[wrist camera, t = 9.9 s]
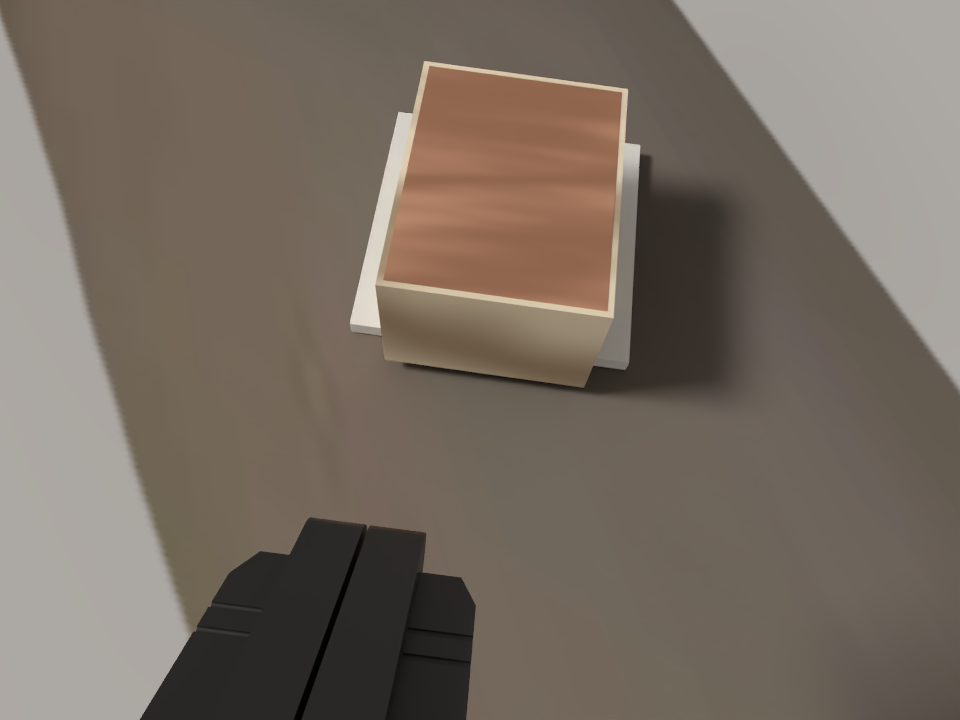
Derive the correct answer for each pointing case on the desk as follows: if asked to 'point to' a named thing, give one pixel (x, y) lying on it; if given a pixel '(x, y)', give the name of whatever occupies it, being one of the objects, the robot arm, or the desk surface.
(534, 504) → the desk surface
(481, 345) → the maple block
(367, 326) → the mat
